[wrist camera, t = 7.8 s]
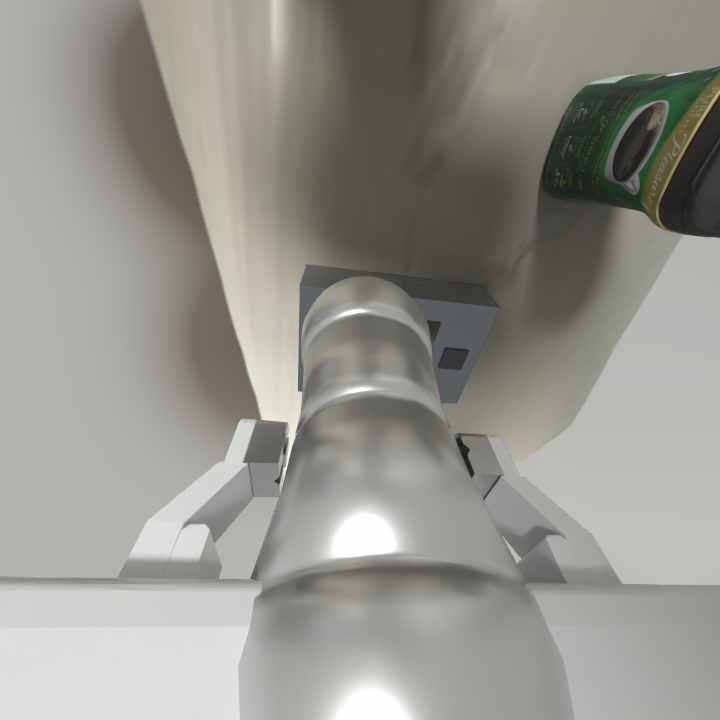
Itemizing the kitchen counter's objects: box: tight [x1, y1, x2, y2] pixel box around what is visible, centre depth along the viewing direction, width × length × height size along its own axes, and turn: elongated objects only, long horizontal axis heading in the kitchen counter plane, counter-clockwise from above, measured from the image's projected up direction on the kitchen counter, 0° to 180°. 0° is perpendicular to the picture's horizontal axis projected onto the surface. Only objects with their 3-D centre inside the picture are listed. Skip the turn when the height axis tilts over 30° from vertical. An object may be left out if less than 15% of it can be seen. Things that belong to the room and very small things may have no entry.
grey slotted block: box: [298, 265, 500, 403], centre depth 40 cm, size 15×22×6 cm
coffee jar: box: [544, 66, 720, 238], centre depth 23 cm, size 10×8×19 cm
